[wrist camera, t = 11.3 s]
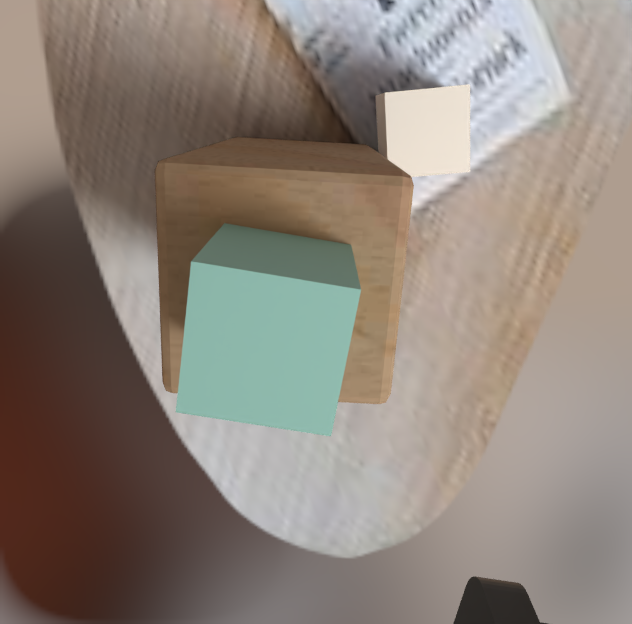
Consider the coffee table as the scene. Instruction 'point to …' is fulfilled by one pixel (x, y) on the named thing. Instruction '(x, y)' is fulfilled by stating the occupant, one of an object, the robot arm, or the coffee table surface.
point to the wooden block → (296, 219)
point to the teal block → (268, 329)
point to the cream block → (425, 129)
